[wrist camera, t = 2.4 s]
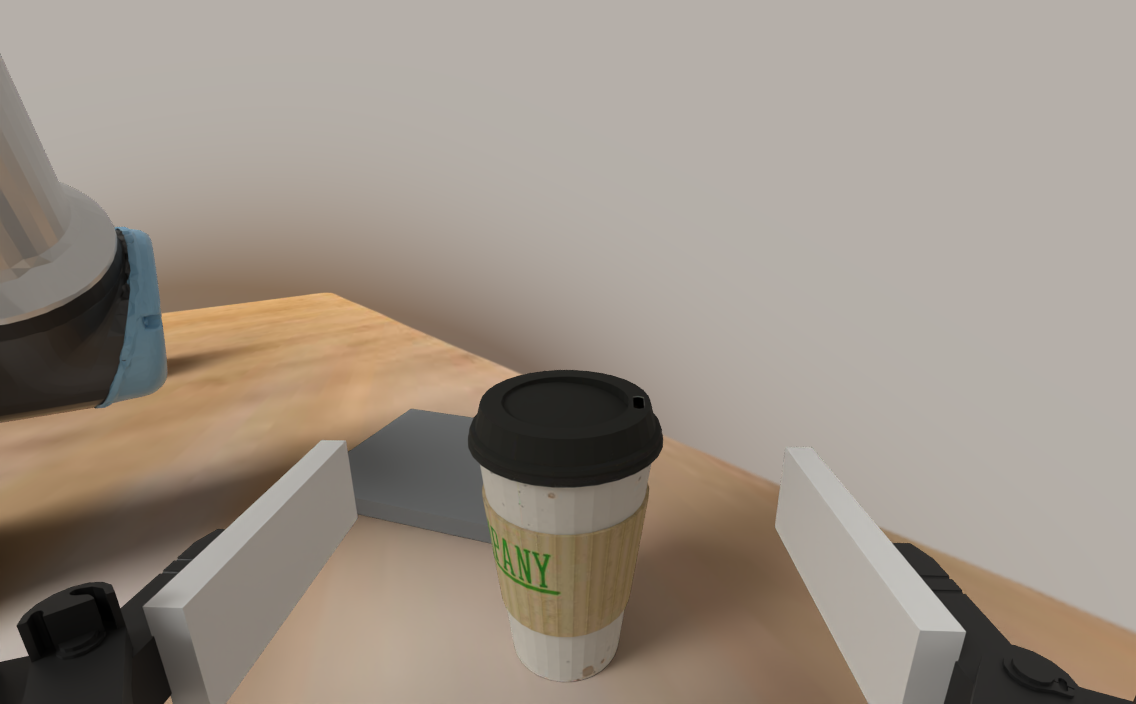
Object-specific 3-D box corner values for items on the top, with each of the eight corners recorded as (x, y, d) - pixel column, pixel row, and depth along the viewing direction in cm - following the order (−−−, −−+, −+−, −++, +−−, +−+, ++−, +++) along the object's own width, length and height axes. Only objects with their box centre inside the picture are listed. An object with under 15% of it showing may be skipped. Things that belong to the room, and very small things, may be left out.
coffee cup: (502, 569, 36) (492, 363, 31) (647, 579, 35) (658, 368, 30) (459, 705, 27) (436, 441, 22) (655, 724, 26) (674, 453, 21)
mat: (301, 501, 43) (298, 485, 43) (412, 421, 58) (411, 408, 57) (525, 550, 38) (525, 533, 37) (586, 447, 52) (586, 434, 52)
